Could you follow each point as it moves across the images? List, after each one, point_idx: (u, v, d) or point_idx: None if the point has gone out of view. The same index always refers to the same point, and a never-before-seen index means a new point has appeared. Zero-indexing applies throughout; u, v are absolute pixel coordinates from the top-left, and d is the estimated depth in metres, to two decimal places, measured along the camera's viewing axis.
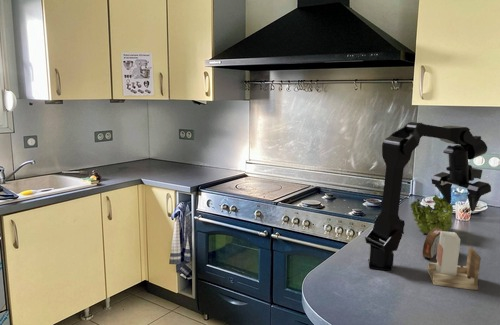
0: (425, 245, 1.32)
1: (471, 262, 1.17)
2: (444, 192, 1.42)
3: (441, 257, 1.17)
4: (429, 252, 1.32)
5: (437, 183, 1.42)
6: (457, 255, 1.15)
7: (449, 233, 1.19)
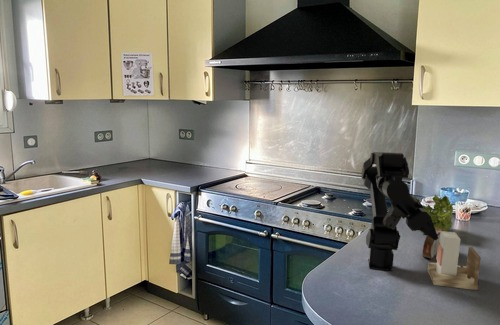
0: (425, 245, 1.32)
1: (471, 262, 1.17)
2: None
3: (441, 257, 1.17)
4: (429, 252, 1.32)
5: (427, 212, 1.12)
6: (457, 255, 1.15)
7: (449, 233, 1.19)
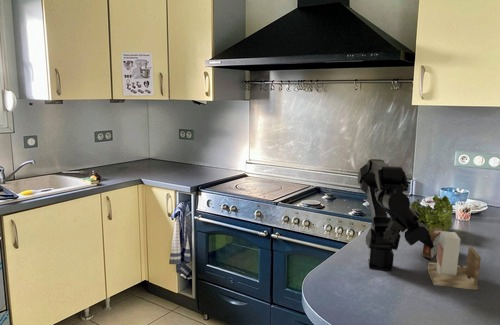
0: (425, 245, 1.32)
1: (471, 262, 1.17)
2: None
3: (441, 257, 1.17)
4: (429, 252, 1.32)
5: (426, 227, 1.13)
6: (457, 255, 1.15)
7: (449, 233, 1.19)
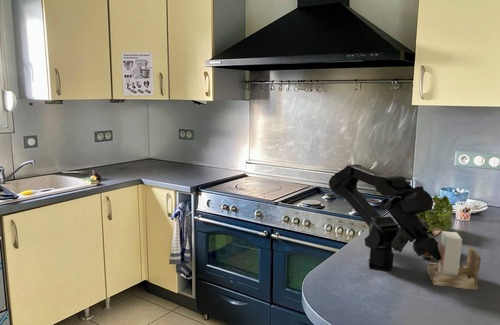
0: None
1: (471, 262, 1.17)
2: None
3: (443, 257, 1.17)
4: None
5: (435, 238, 1.12)
6: (459, 255, 1.15)
7: (451, 233, 1.19)
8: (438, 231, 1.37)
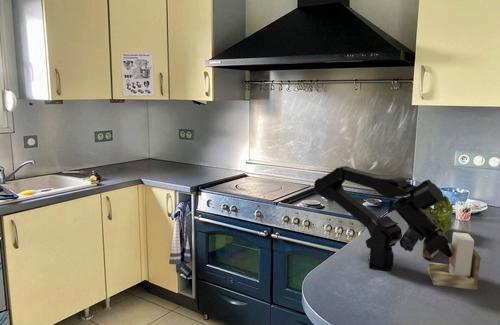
0: None
1: None
2: None
3: (454, 258, 1.16)
4: None
5: (445, 236, 1.12)
6: (471, 256, 1.14)
7: (462, 234, 1.18)
8: None
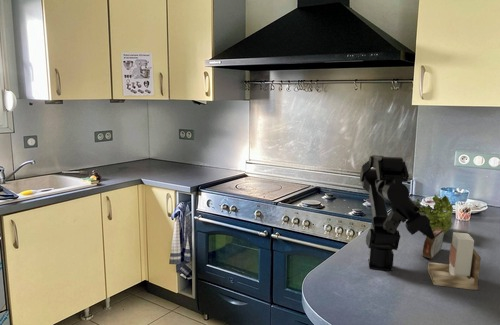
0: (425, 245, 1.32)
1: None
2: None
3: (454, 258, 1.16)
4: (429, 252, 1.32)
5: None
6: (471, 256, 1.14)
7: (462, 234, 1.18)
8: (438, 231, 1.37)
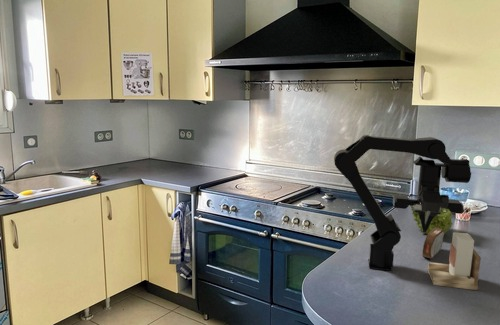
0: (425, 245, 1.32)
1: None
2: (426, 215, 1.25)
3: (454, 258, 1.16)
4: (429, 252, 1.32)
5: None
6: (471, 256, 1.14)
7: (462, 234, 1.18)
8: (438, 231, 1.37)
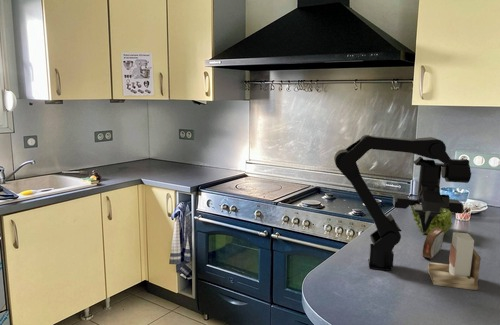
0: (425, 245, 1.32)
1: None
2: (426, 215, 1.25)
3: (454, 258, 1.16)
4: (429, 252, 1.32)
5: None
6: (471, 256, 1.14)
7: (462, 234, 1.18)
8: (438, 231, 1.37)
